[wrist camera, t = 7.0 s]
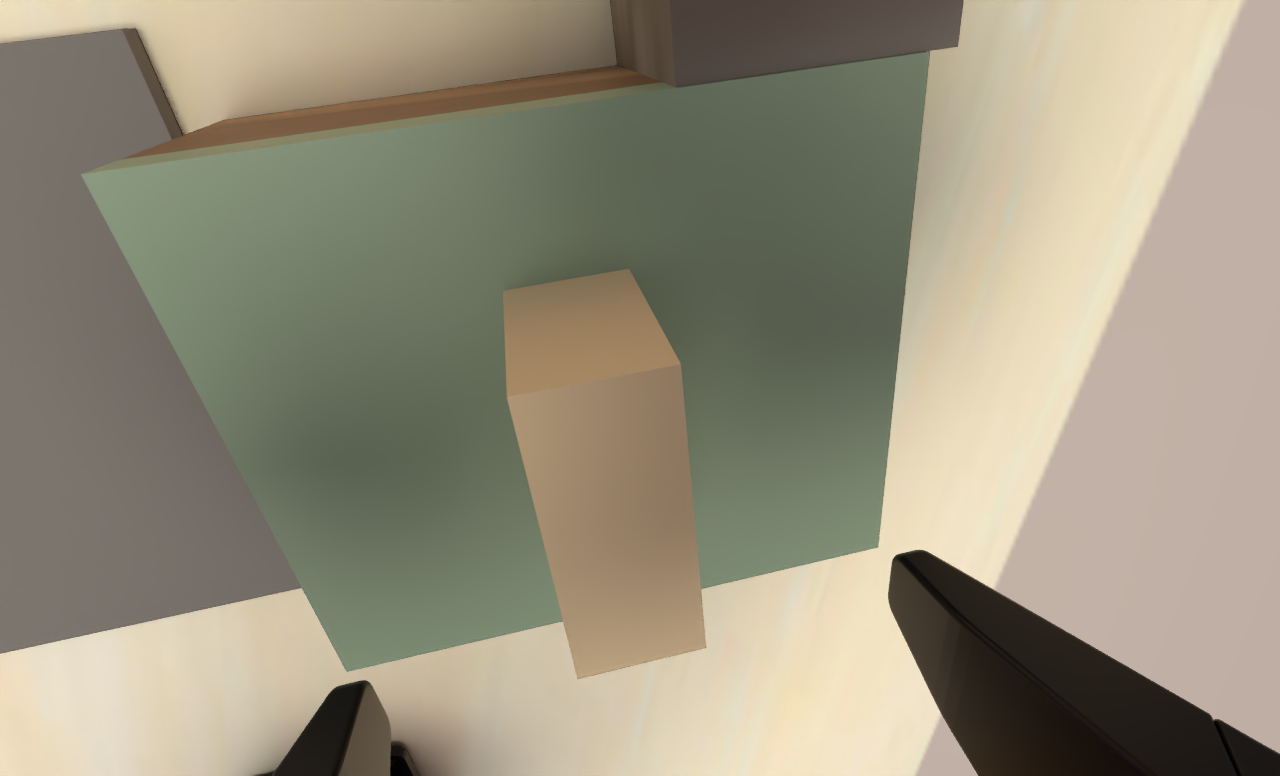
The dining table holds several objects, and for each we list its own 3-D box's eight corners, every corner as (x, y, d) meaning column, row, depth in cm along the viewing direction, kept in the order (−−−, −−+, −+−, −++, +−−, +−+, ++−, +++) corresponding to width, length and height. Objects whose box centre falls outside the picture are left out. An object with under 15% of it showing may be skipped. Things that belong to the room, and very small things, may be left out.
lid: (856, 518, 19) (970, 674, 14) (355, 632, 17) (307, 848, 13) (894, 48, 13) (1114, 65, 8) (119, 159, 11) (-135, 255, 7)
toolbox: (805, 421, 23) (896, 539, 18) (383, 509, 21) (347, 668, 16) (817, -106, 15) (984, -170, 10) (161, -32, 14) (-41, -62, 9)
